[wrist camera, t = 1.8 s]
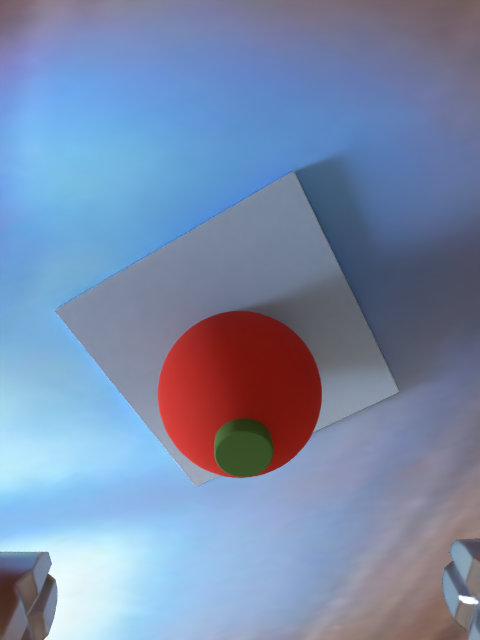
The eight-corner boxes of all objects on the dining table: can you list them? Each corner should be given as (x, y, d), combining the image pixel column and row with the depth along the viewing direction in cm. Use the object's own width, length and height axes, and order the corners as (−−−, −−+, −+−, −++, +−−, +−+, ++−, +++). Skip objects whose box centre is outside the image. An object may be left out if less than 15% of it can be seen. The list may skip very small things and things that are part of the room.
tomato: (164, 288, 15) (132, 366, 10) (311, 289, 16) (356, 365, 10) (172, 412, 17) (149, 530, 12) (300, 410, 18) (334, 526, 12)
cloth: (57, 307, 16) (53, 311, 16) (292, 170, 14) (294, 171, 14) (196, 481, 19) (195, 487, 19) (396, 387, 18) (400, 392, 17)
